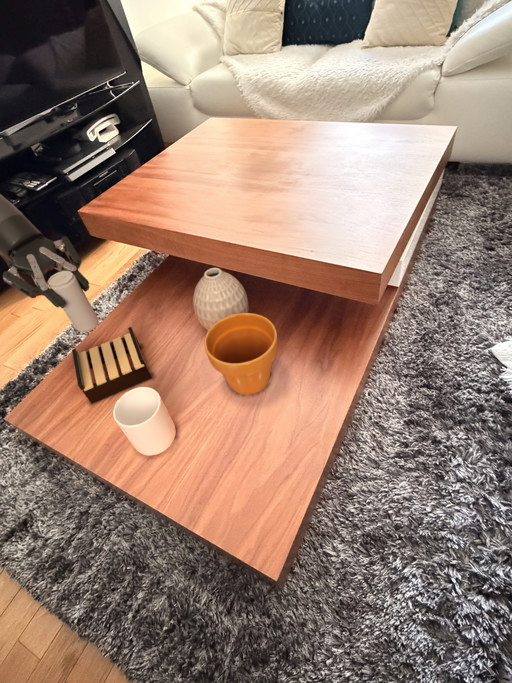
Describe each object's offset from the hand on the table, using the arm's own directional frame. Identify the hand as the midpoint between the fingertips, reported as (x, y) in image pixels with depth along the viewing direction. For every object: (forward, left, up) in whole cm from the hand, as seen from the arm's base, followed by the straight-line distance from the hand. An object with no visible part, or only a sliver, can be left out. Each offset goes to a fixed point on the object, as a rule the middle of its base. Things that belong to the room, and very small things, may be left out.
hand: (75, 297), depth 73 cm
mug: (+2, -19, -24) cm, 30 cm away
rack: (-1, +2, -23) cm, 24 cm away
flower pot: (+25, -16, -24) cm, 38 cm away
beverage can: (-1, +2, -8) cm, 9 cm away
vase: (+27, +2, -24) cm, 36 cm away
